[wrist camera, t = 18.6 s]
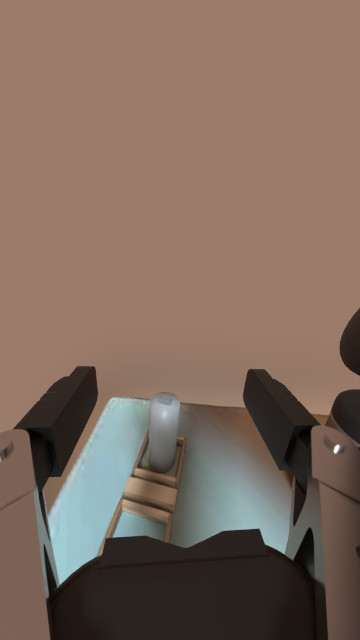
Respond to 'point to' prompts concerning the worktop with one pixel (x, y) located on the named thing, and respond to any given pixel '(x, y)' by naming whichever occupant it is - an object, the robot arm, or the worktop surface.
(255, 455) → the worktop surface
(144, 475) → the wooden organizer tray
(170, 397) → the grey cylindrical bottle
